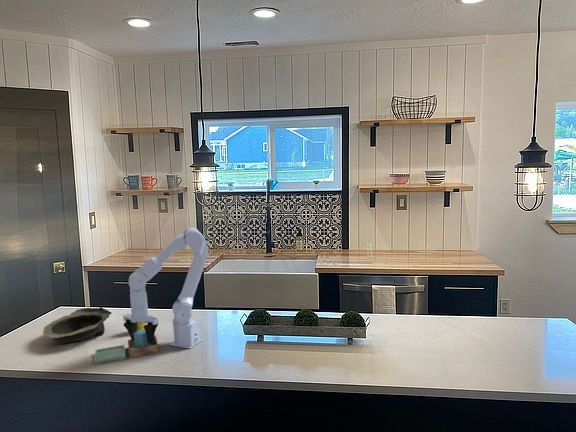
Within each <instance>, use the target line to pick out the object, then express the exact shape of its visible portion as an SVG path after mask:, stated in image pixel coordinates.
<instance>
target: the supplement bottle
mask: <svg viewBox="0 0 576 432" xmlns="http://www.w3.org/2000/svg"><path fill="white" fill-rule="evenodd" d="M145 325H147V323H143V322H138V323H137V331H139V330H141V329H142V330H145V329H144V327H143V326H145Z"/></svg>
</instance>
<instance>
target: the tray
mask: <svg viewBox="0 0 576 432" xmlns="http://www.w3.org/2000/svg"><path fill="white" fill-rule="evenodd" d="M125 347H126V346H125V344H120V345H115V346H109V347H103V348H97V349H95V353H94V366H96V365H97V366H98V365H101V364H107V363H111V362H117V361H118V362H119V361H121V360H122V361H123V360H126V359H127V358H126V348H125Z"/></svg>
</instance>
